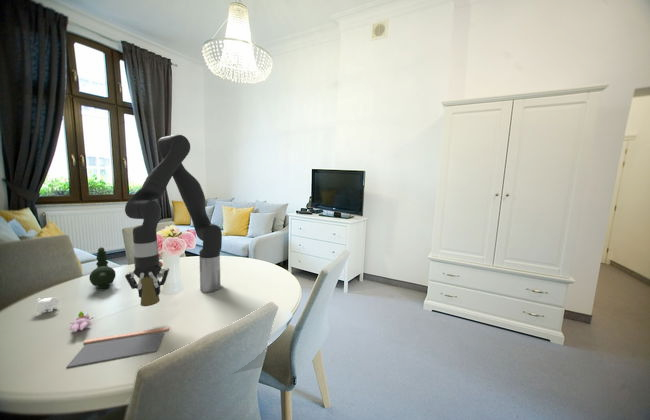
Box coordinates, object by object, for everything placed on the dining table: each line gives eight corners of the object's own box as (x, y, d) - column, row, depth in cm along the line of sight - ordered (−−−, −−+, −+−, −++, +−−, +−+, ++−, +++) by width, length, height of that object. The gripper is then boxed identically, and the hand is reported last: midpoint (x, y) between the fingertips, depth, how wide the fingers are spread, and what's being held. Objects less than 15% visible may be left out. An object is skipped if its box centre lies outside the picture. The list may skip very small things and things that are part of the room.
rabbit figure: (72, 325, 93) (65, 339, 82) (71, 309, 93) (64, 321, 82) (94, 319, 97) (91, 332, 86) (94, 304, 97) (90, 315, 86)
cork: (150, 307, 91) (147, 278, 89) (136, 305, 92) (133, 277, 90) (163, 299, 97) (161, 272, 95) (150, 297, 98) (148, 271, 96)
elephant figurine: (28, 317, 95) (27, 302, 94) (47, 306, 103) (46, 293, 102) (50, 315, 96) (48, 301, 95) (66, 305, 104) (65, 292, 103)
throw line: (169, 328, 91) (168, 326, 91) (168, 330, 90) (168, 329, 90) (85, 341, 82) (85, 339, 82) (83, 344, 81) (83, 342, 81)
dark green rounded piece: (91, 283, 129) (89, 296, 111) (88, 247, 128) (86, 255, 110) (115, 278, 136) (117, 291, 117) (112, 244, 134) (114, 251, 116)
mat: (164, 333, 88) (164, 332, 88) (156, 351, 79) (156, 350, 79) (85, 345, 80) (85, 344, 80) (66, 368, 71) (66, 366, 71)
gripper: (170, 248, 98) (173, 289, 100) (126, 252, 92) (130, 295, 95) (166, 254, 91) (169, 298, 93) (118, 258, 85) (123, 304, 88)
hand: (149, 296), depth 94 cm, fingers closed on cork, 4 cm apart
